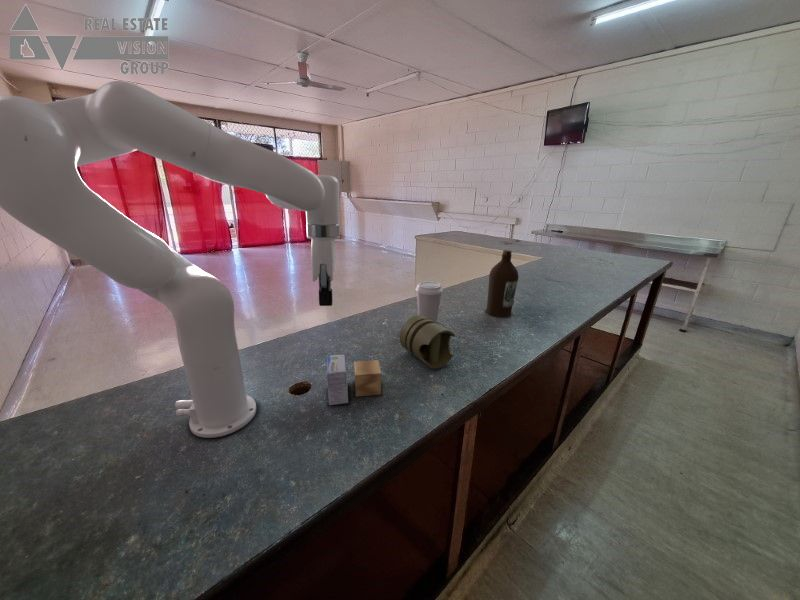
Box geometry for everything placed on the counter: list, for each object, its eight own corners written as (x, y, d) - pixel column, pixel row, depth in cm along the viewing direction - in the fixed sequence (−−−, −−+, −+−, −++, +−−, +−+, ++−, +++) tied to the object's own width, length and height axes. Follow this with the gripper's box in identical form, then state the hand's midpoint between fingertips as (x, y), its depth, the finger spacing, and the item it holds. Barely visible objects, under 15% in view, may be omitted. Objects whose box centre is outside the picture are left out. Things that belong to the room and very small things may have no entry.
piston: (423, 373, 85) (425, 336, 81) (399, 354, 94) (400, 319, 90) (454, 362, 90) (458, 326, 86) (428, 344, 100) (431, 311, 96)
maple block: (355, 396, 75) (355, 375, 73) (354, 381, 80) (354, 361, 78) (380, 394, 76) (381, 373, 74) (378, 380, 81) (378, 359, 79)
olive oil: (479, 311, 127) (486, 249, 118) (496, 306, 133) (504, 247, 124) (501, 320, 119) (510, 255, 110) (517, 314, 125) (528, 252, 116)
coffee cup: (411, 327, 111) (413, 287, 106) (416, 317, 120) (418, 279, 114) (438, 331, 109) (441, 290, 104) (441, 320, 118) (444, 281, 112)
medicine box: (348, 404, 72) (347, 371, 69) (328, 406, 72) (326, 373, 68) (346, 383, 80) (345, 353, 77) (328, 385, 79) (326, 355, 76)
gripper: (310, 227, 80) (313, 295, 86) (302, 235, 66) (307, 316, 72) (340, 228, 81) (341, 295, 88) (339, 236, 68) (340, 315, 74)
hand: (325, 304), depth 80 cm, fingers closed
